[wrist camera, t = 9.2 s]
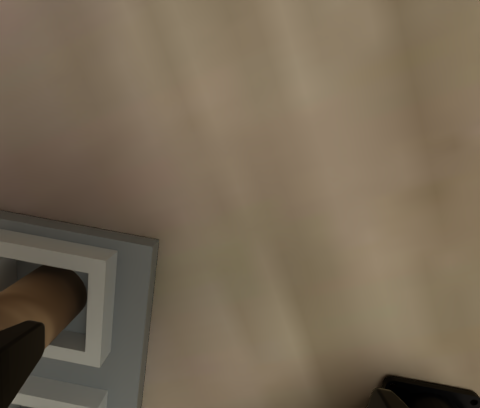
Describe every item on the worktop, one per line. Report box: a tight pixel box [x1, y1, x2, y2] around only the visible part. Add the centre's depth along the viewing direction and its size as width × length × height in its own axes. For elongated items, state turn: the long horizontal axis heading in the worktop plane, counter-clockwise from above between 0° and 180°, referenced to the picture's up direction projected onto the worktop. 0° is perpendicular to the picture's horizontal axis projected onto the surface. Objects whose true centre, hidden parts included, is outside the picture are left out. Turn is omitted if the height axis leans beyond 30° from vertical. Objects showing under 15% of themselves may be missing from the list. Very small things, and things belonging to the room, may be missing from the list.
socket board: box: [0, 210, 159, 408], centre depth 22 cm, size 12×20×3 cm, turn 170°
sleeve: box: [0, 265, 87, 348], centre depth 18 cm, size 4×4×7 cm
